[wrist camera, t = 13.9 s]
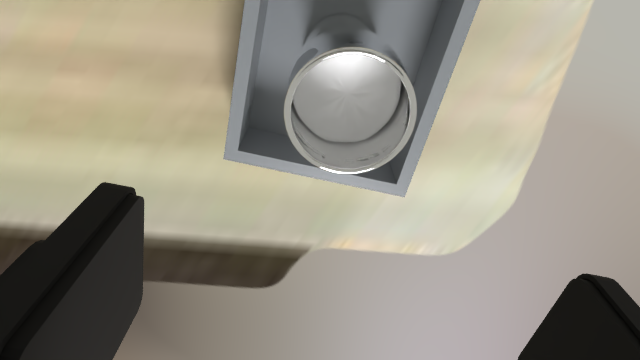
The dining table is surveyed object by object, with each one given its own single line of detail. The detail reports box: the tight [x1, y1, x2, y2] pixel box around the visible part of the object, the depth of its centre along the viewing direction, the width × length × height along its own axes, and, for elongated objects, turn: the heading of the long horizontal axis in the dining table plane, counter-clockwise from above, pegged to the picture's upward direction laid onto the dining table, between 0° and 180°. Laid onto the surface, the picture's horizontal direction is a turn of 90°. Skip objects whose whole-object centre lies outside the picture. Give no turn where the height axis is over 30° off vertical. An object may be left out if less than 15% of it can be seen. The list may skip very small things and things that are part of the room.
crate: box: [224, 0, 480, 197], centre depth 32 cm, size 18×15×6 cm
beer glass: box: [284, 14, 417, 174], centre depth 27 cm, size 7×7×15 cm
